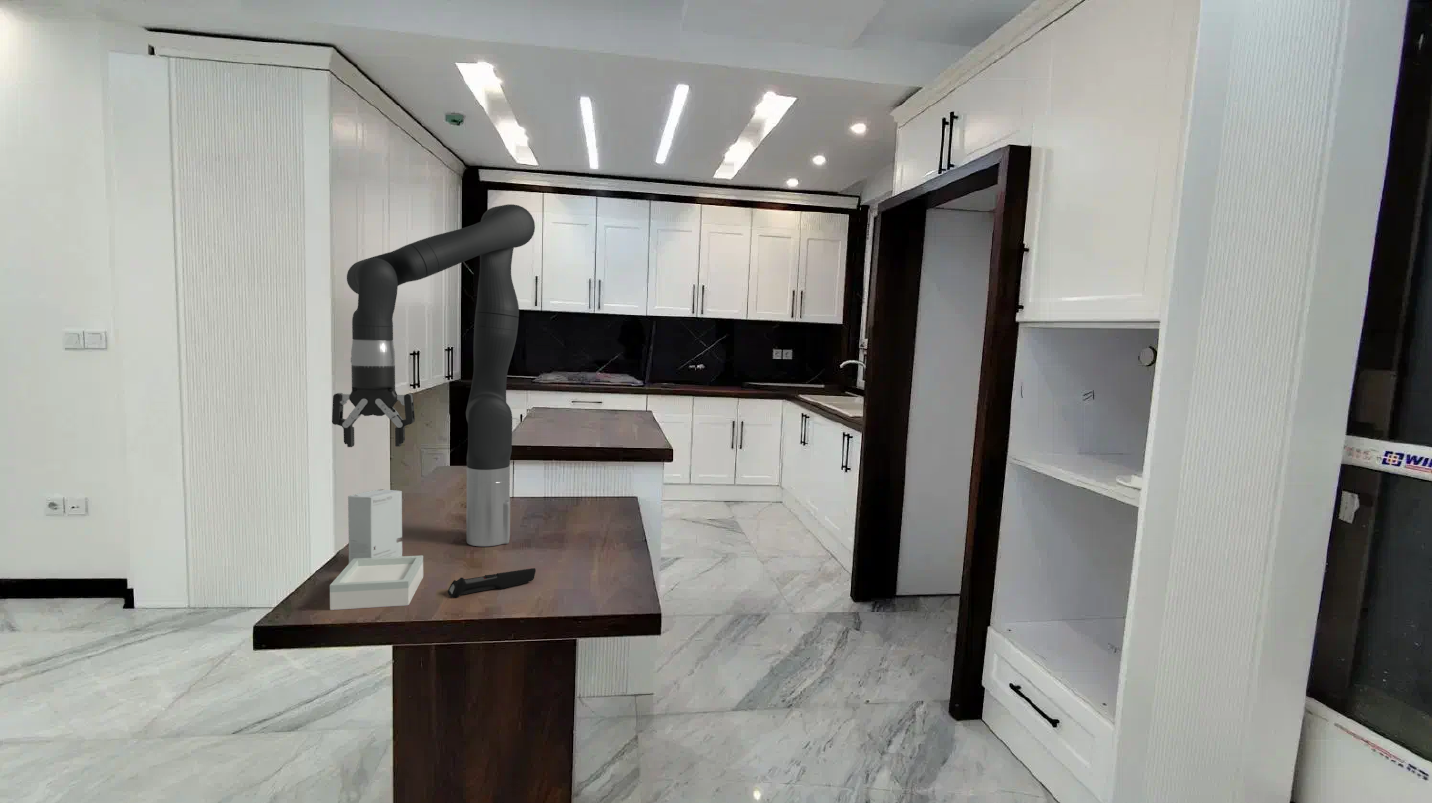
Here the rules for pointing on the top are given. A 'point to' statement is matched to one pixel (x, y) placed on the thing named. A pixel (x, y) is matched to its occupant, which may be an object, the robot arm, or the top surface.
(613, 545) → the top surface
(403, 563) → the white open tray
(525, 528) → the top surface
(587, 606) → the top surface
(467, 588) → the electric trimmer
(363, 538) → the skincare box
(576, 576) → the top surface
